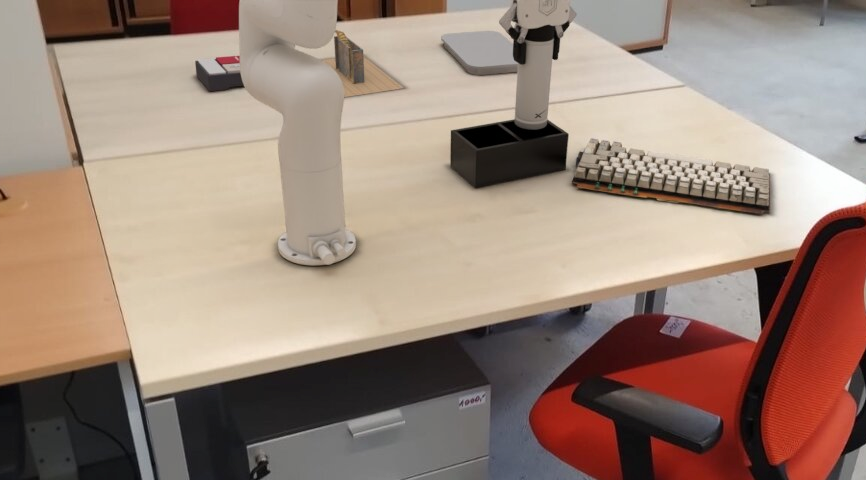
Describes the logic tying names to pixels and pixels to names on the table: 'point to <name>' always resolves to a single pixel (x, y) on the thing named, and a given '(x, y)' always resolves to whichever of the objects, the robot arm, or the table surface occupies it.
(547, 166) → the caddy
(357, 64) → the architectural model on board
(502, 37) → the grey flat block
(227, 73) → the calculator
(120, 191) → the table surface
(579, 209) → the table surface
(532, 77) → the travel mug
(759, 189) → the mechanical keyboard
